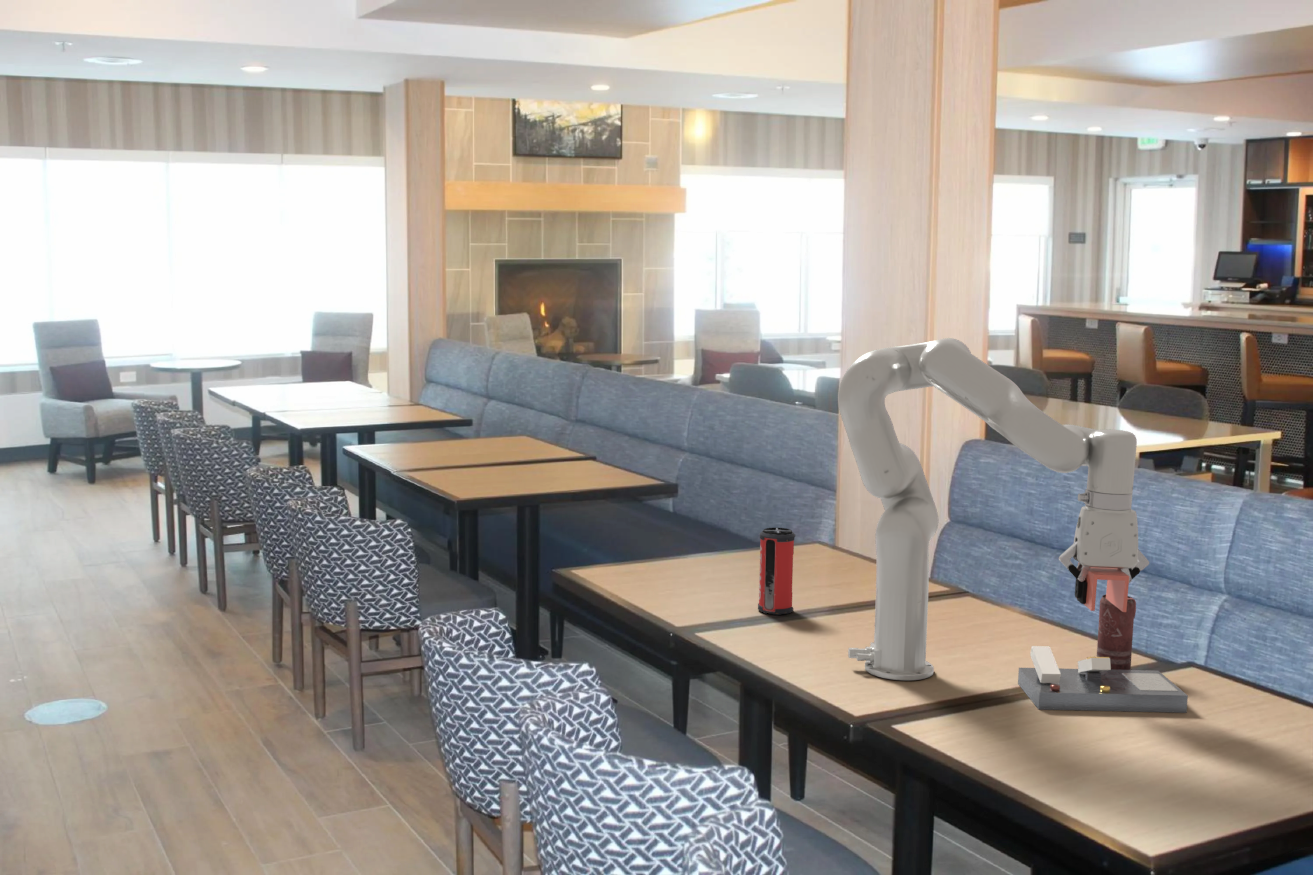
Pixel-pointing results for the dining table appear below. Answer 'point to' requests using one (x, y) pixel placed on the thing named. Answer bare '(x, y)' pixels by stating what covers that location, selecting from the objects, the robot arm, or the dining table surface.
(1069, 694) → the panel
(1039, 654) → the block
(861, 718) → the dining table surface
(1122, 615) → the can
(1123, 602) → the cap
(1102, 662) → the block
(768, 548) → the speaker
